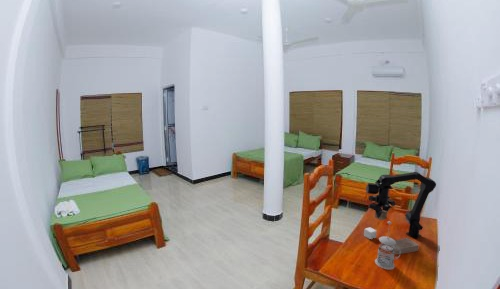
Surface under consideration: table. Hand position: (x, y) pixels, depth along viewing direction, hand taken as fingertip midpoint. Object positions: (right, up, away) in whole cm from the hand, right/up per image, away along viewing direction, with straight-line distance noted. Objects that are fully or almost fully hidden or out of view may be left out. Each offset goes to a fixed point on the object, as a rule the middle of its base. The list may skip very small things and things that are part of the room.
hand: (380, 216), depth 172 cm
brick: (+4, -15, -17) cm, 23 cm away
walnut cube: (0, -1, 0) cm, 1 cm away
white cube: (-9, -12, -4) cm, 15 cm away
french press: (-12, -18, -30) cm, 37 cm away
